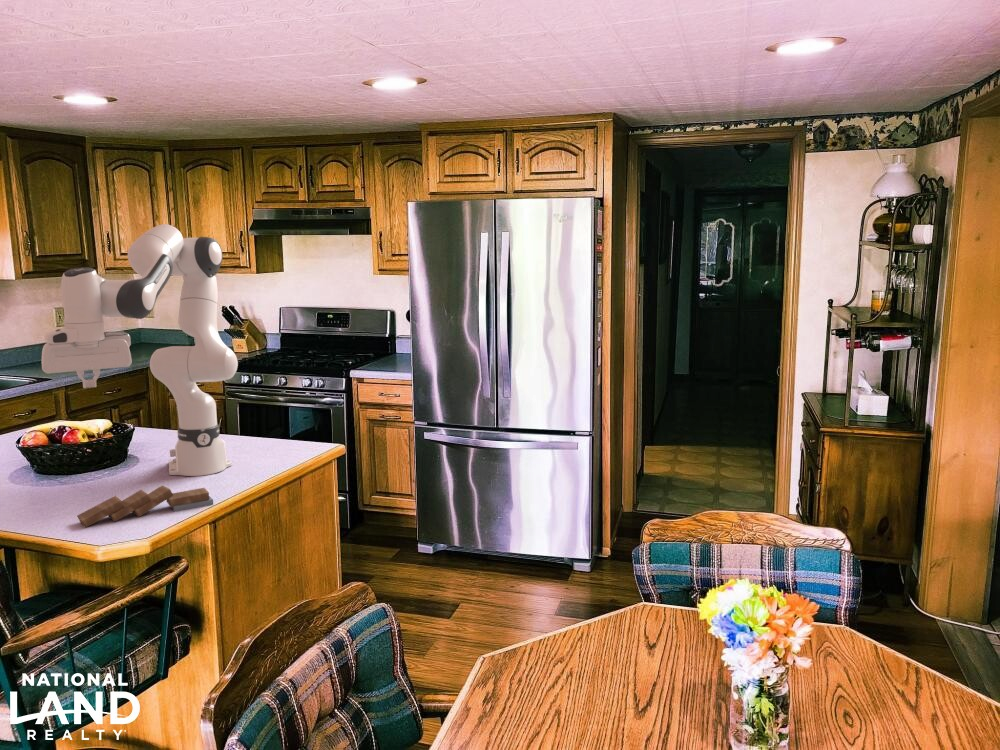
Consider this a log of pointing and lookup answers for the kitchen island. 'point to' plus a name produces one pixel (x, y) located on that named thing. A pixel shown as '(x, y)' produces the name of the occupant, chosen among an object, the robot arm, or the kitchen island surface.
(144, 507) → the domino
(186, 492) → the domino
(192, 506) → the slate domino
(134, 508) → the domino
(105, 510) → the domino
